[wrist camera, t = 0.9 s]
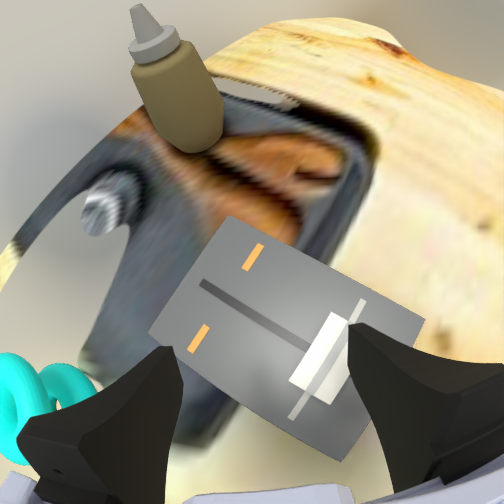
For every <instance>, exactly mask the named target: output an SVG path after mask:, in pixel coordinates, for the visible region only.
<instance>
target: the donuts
mask: <svg viewBox="0 0 504 504" xmlns="http://www.w3.org/2000/svg"><path fill="white" fill-rule="evenodd" d="M97 393H98V392H97V390H96V389H95V387H94V385H93V384H92V382H91V381H90V380H89V378H88V377H87V376H86V375H85V374H84V373H83V372H82V371H80V370H79V369H77V368H76V367H74V366H71V365H69V364H65V363H55V364H51V365H49V366H47V367H45V368H44V369H43V370H42V371H41V372H40V373H39V374H38V373H37V372H36V371H35V369H34V368H33V367H32V366H31V365H30V364H29V363H28V362H27V361H26V360H25V359H23V358H22V357H20V356H18V355H16V354H13V353H1V354H0V453H1V454H3V455H4V456H5V457H6V458H7V459H9V460H10V461H12V462H14V463H16V464H19V465H30V464H29V463H28V461H27V460H26V459H25V458H24V456H23V455H22V453H21V452H20V450H19V448H18V446H17V443H16V437H17V436H18V434H19V433H20V431H21V430H22V428H23V427H24V425H25V424H26V422H27V421H28V419H29V418H30V417H33V416H37V415H42V414H46V413H50V412H54V411H57V410H56V402H57V399H58V401H59V402H60V405H61V407H62V409H63V408H66V407H69V406H71V405H74V404H76V403H78V402H81V401H83V400H85V399H87V398H89V397H91V396H93V395H95V394H97Z"/></svg>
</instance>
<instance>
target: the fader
mask: <svg viewBox="0 0 504 504" xmlns="http://www.w3.org/2000/svg"><path fill="white" fill-rule="evenodd" d="M350 324H354V323H353V322H351V321H349V320H348V321H347V320H345V319H344V318H342V317H340V316H338V315H336V314H335V313H333V312H331V313H330V315H329V316H328V318H327V320H326V322H325V323H324V325H323V327H322V328H321V330H320V332H319V333H318V335H317V337H316V338H315V340H314V341H313V343H312V345H311V346H310V348H309V350H308V351H307V353H306V354H305V356H304V357H303V359H302V361H301V362H300V364H299V365H298V367H297V368H296V370H295V371H294V373H293V374H292V376H291V377H290V379H289V381H290V382H291V383H293V384H295V385H296V386H298V387H300V388H301V389H303V390H305V391H306V392H307V393H309V394H311V395H313V396H315V397H317V398H318V399H320V400H322V401H324V402H325V403H327V404H329V405H330V404H331V403H332V401H333V400H334V398H335V397H336V395H337V394H338V392H339V390H340V389H341V387H342V386H343V384H344V383H345V381H346V379H347V378H348V376H349V374H350V372H349V369H348V366H347V356H348V325H350Z"/></svg>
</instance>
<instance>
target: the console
mask: <svg viewBox="0 0 504 504" xmlns="http://www.w3.org/2000/svg"><path fill="white" fill-rule="evenodd" d="M331 312H333V313H335V314H336V315H338V316H340V317H342V318H344V319H345V320H347V321H348V320H349V321H351V322H353V323H354V324H356V323H361V322H363V323H365V324H367V325H369V326H371V327H373V328H374V329H376V330H378V331H380V332H382V333H384V334H385V335H387V336H389V337H391V338H393V339H395V340H397V341H399V342H401V343H403V344H405V345H407V346H410V347H412V346H413V344H414V342H415V340H416V338H417V336H418V334H419V332H420V330H421V328H422V325H423V323H424V321H425V319H424V318H422V317H421V316H419V315H417V314H415V313H413V312H412V311H410V310H408V309H406V308H404V307H403V306H401V305H399V304H397V303H395V302H393V301H392V300H390V299H388V298H386V297H384V296H382V295H381V294H379V293H377V292H375V291H373V290H371V289H370V288H368V287H366V286H364V285H362V284H360V283H358V282H357V281H355V280H353V279H351V278H349V277H347V276H345V275H344V274H342V273H340V272H338V271H336V270H334V269H332V268H330V267H329V266H327V265H325V264H323V263H321V262H319V261H317V260H315V259H313V258H311V257H310V256H308V255H306V254H304V253H302V252H300V251H298V250H296V249H294V248H292V247H290V246H289V245H287V244H285V243H283V242H281V241H279V240H277V239H275V238H273V237H271V236H269V235H267V234H265V233H263V232H261V231H260V230H258V229H256V228H254V227H252V226H250V225H248V224H246V223H244V222H242V221H240V220H238V219H236V218H234V217H232V216H230V215H228V216H227V218H226V219H225V220H224V222H223V223H222V225H221V226H220V227H219V229H218V230H217V232H216V233H215V235H214V236H213V237H212V239H211V240H210V242H209V243H208V244H207V246H206V247H205V249H204V250H203V252H202V253H201V254H200V256H199V257H198V259H197V260H196V262H195V263H194V265H193V266H192V267H191V269H190V270H189V272H188V273H187V275H186V276H185V278H184V279H183V281H182V282H181V283H180V285H179V286H178V288H177V289H176V291H175V292H174V294H173V295H172V297H171V298H170V300H169V301H168V303H167V304H166V306H165V307H164V309H163V310H162V312H161V313H160V315H159V316H158V318H157V319H156V321H155V322H154V324H153V325H152V327H151V328H150V330H149V331H148V334H149V335H151V336H152V337H153V338H154V339H155V340H157V341H158V342H159V343H160V344H161V345H163V346H173V350H174V353H175V356H176V357H178V358H179V359H180V360H181V361H183V362H184V363H185V364H187V365H188V366H189V367H191V368H192V369H193V370H194V371H196V372H197V373H198V374H200V375H201V376H203V377H204V378H205V379H207V380H208V381H209V382H211V383H212V384H213V385H215V386H216V387H218V388H219V389H220V390H222V391H223V392H225V393H226V394H228V395H229V396H230V397H232V398H233V399H235V400H236V401H238V402H239V403H241V404H242V405H244V406H245V407H247V408H248V409H250V410H251V411H253V412H254V413H256V414H258V415H259V416H261V417H262V418H264V419H265V420H267V421H269V422H270V423H272V424H273V425H275V426H277V427H278V428H280V429H282V430H283V431H285V432H287V433H288V434H290V435H292V436H293V437H295V438H297V439H299V440H300V441H302V442H304V443H306V444H307V445H309V446H311V447H313V448H315V449H317V450H318V451H320V452H322V453H324V454H326V455H328V456H330V457H332V458H333V459H335V460H337V461H339V462H342V460H343V459H344V458H345V456H346V455H347V454H348V452H349V451H350V449H351V448H352V447H353V445H354V444H355V442H356V441H357V440H358V438H359V437H360V435H361V434H362V432H363V431H364V429H365V428H366V426H367V425H368V423H369V422H370V420H371V417H370V415H369V413H368V411H367V409H366V407H365V405H364V404H363V402H362V400H361V398H360V396H359V394H358V392H357V390H356V388H355V386H354V384H353V381H352V378H351V375H350V374H349V376H348V378H347V379H346V381H345V383H344V384H343V386H342V387H341V389H340V390H339V392H338V394H337V395H336V397H335V398H334V400H333V401H332V403H331V404H330V405H329V404H327V403H325V402H324V401H322V400H320V399H318V398H317V397H315V396H313V395H311V394H309V393H307V392H306V391H305V390H303V389H301V388H300V387H298V386H296V385H295V384H293V383H291V382H290V381H289V379H290V377H291V376H292V374H293V373H294V371H295V370H296V368H297V367H298V365H299V364H300V362H301V361H302V359H303V357H304V356H305V354H306V353H307V351H308V350H309V348H310V346H311V345H312V343H313V341H314V340H315V338H316V337H317V335H318V333H319V332H320V330H321V328H322V327H323V325H324V323H325V322H326V320H327V318H328V316H329V315H330V313H331Z"/></svg>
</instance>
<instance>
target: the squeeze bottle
mask: <svg viewBox="0 0 504 504" xmlns="http://www.w3.org/2000/svg"><path fill="white" fill-rule="evenodd" d="M130 14H131V19H132V23H133V28H134V31H135V36H136V39H135V40H134V41H133V42H132V43H131V44H130V46H129V48H128V50H129V52H130V54H131V56H132V58H133V59H134V61H135V63H134V65H133V68H132V70H131V75H132V78H133V80H134V82H135V85H136V87H137V89H138V91H139V94H140V96H141V98H142V100H143V103H144V105H145V107H146V109H147V111H148V114H149V116H150V118H151V120H152V122H153V124H154V127H155V129H156V131H157V133H158V135H159V136H161V137H162V138H164V139H165V140H167V141H168V142H170V143H171V144H173V145H174V146H175V147H177V148H178V149H180V150H181V151H183V152H186V153H196V152H202V151H204V150H206V149H208V148H210V147H212V146H213V145H214V144H215V143H216V142H217V141H218V140H219V139H220V137H221V135H222V133H223V117H224V101H223V99H222V97H221V95H220V93H219V91H218V89H217V88H216V86H215V84H214V82H213V80H212V78H211V76H210V74H209V73H208V71H207V69H206V67H205V65H204V63H203V61H202V60H201V58H200V56H199V54H198V52H197V51H196V49H195V47H194V45H193V44H192V43H191V42H188V41H184V40H180V38H179V35H178V33H177V31H176V28H175V27H174V26H171V25H165V26H160V25H159V23H158V22H157V21H156V20H155V19H154V17H153V16H152V15H151V14H150V13H149V11H148V10H147V9H146V8H145V7H144V6H143V5H142V4H138V5H136V6H134V7H132V8H131V9H130Z"/></svg>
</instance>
